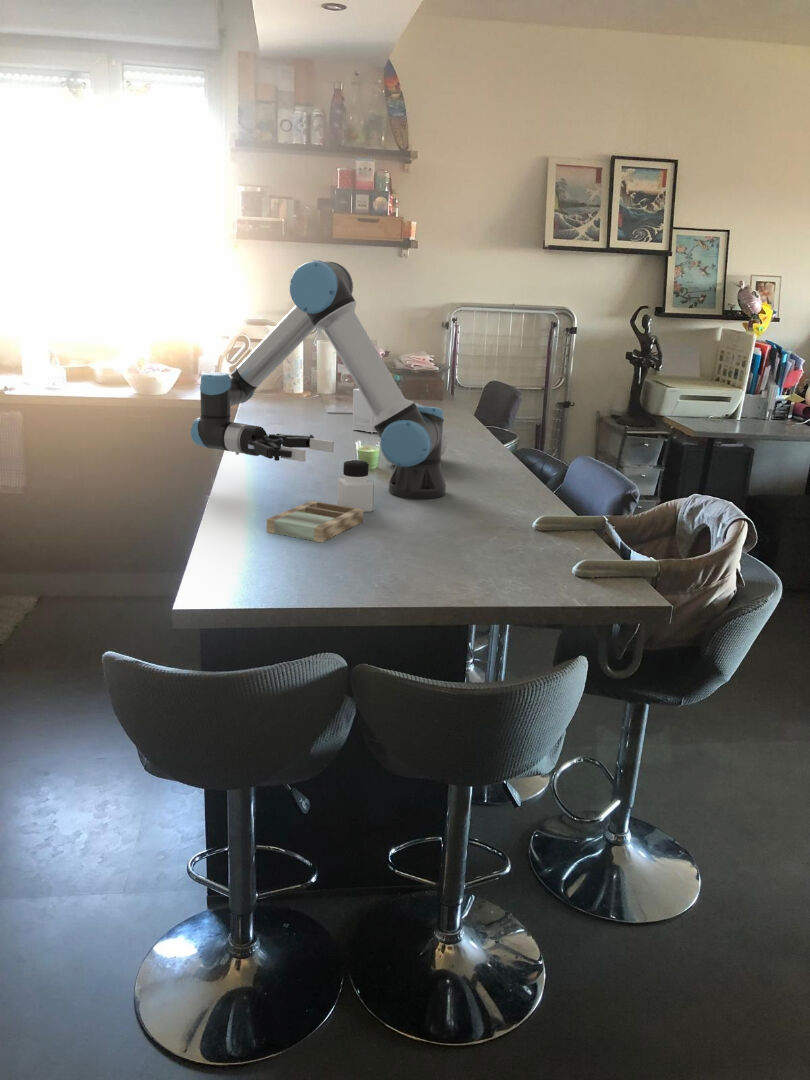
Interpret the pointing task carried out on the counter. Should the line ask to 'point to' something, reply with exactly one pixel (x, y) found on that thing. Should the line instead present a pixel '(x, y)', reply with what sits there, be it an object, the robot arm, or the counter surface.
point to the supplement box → (362, 413)
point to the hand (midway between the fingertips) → (319, 451)
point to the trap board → (315, 521)
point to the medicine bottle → (355, 486)
